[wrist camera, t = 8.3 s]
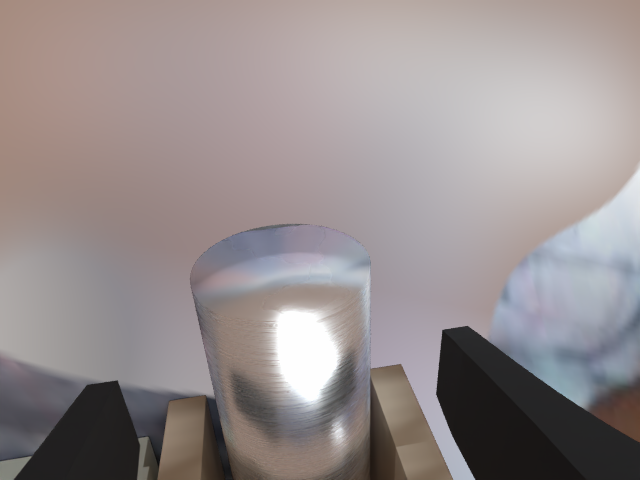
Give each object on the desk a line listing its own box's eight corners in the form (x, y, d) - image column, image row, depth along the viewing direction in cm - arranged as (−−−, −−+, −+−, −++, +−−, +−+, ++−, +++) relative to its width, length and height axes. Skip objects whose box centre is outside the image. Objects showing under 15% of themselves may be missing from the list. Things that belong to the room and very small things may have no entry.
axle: (191, 236, 13) (187, 336, 9) (344, 214, 14) (397, 299, 10) (251, 527, 20) (263, 655, 16) (351, 503, 21) (385, 619, 17)
